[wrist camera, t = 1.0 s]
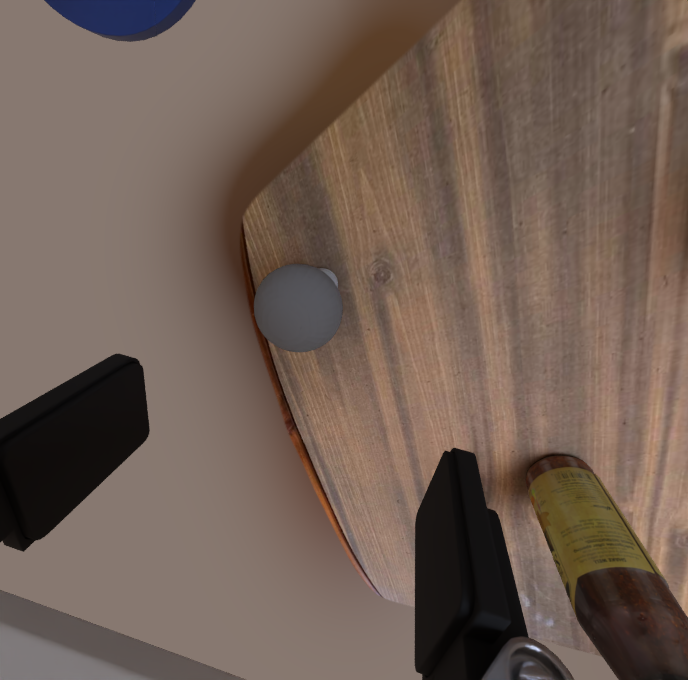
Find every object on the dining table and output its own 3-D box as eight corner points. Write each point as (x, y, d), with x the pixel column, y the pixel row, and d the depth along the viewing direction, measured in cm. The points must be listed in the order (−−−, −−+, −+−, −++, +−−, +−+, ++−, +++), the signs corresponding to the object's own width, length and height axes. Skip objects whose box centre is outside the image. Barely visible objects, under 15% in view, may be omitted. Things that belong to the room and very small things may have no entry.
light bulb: (348, 238, 27) (315, 266, 18) (365, 307, 29) (342, 362, 21) (282, 255, 29) (222, 287, 20) (302, 318, 31) (256, 373, 22)
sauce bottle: (508, 476, 34) (608, 794, 16) (559, 440, 31) (746, 777, 13) (559, 509, 34) (708, 852, 17) (613, 477, 32) (860, 847, 14)
